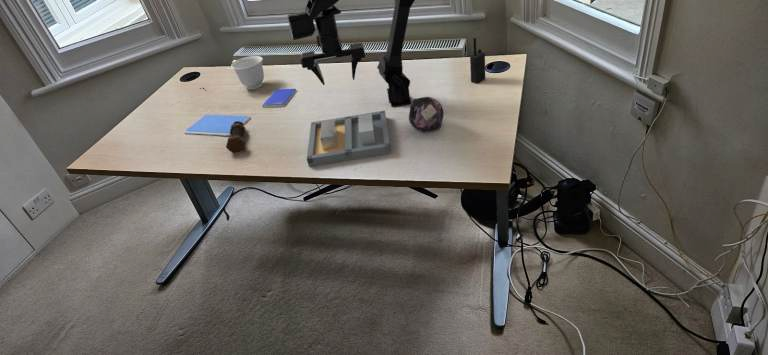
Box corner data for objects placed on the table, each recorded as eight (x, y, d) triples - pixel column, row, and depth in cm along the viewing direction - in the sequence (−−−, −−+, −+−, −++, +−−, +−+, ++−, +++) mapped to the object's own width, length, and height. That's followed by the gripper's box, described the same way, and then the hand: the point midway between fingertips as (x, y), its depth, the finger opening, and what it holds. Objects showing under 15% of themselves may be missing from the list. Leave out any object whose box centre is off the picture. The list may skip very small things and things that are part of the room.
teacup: (251, 77, 190) (243, 53, 184) (276, 82, 182) (269, 57, 176) (228, 89, 183) (219, 65, 177) (253, 95, 175) (244, 70, 169)
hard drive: (283, 103, 162) (295, 88, 172) (261, 104, 164) (275, 89, 174) (284, 108, 163) (297, 92, 173) (263, 108, 165) (276, 93, 175)
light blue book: (183, 135, 157) (182, 131, 156) (206, 116, 166) (205, 113, 166) (230, 138, 150) (229, 134, 150) (252, 118, 160) (250, 115, 159)
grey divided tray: (385, 117, 145) (383, 103, 143) (391, 153, 128) (388, 137, 125) (313, 129, 146) (309, 115, 143) (308, 166, 129) (304, 151, 126)
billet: (337, 130, 141) (334, 119, 139) (337, 148, 133) (334, 135, 130) (324, 132, 141) (321, 121, 139) (323, 150, 133) (320, 138, 130)
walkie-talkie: (478, 77, 160) (477, 33, 151) (486, 79, 157) (485, 35, 149) (469, 82, 157) (467, 38, 149) (477, 84, 155) (476, 40, 146)
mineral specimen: (403, 133, 132) (403, 97, 130) (415, 129, 142) (415, 95, 140) (437, 134, 129) (437, 98, 126) (447, 130, 138) (447, 95, 136)
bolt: (244, 134, 154) (242, 155, 142) (228, 130, 153) (224, 152, 140) (248, 118, 152) (246, 139, 139) (232, 114, 150) (229, 135, 138)
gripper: (358, 17, 141) (367, 66, 150) (297, 28, 141) (310, 76, 150) (360, 29, 132) (369, 80, 141) (295, 40, 132) (308, 91, 141)
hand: (338, 82), depth 143 cm, fingers open, 9 cm apart
